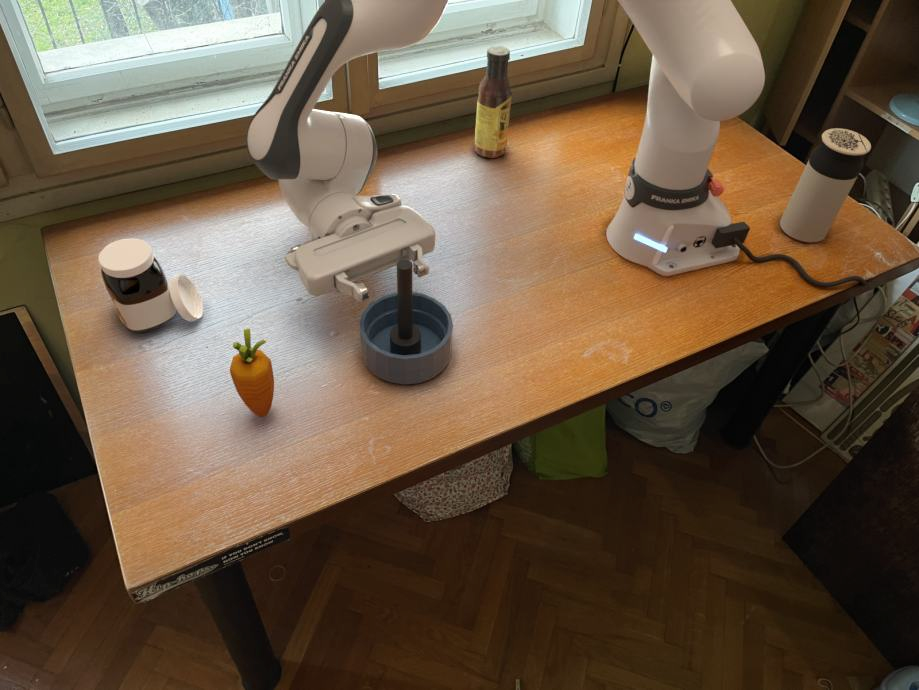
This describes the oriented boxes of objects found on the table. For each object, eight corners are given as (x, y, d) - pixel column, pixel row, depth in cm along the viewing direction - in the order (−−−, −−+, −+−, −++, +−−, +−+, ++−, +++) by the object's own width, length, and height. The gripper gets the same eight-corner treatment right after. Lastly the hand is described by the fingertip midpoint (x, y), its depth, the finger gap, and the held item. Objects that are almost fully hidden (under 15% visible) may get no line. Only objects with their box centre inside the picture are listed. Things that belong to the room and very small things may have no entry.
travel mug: (779, 238, 126) (822, 148, 113) (778, 212, 131) (819, 123, 118) (826, 248, 125) (875, 158, 112) (823, 221, 130) (870, 132, 117)
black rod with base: (419, 337, 105) (419, 251, 93) (422, 359, 102) (423, 274, 90) (388, 339, 104) (385, 254, 93) (391, 362, 102) (388, 276, 90)
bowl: (444, 317, 109) (445, 288, 105) (457, 382, 100) (459, 353, 96) (359, 324, 107) (356, 295, 103) (365, 391, 99) (363, 362, 94)
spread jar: (110, 305, 107) (83, 244, 99) (183, 276, 112) (164, 216, 104) (140, 354, 101) (114, 293, 93) (216, 321, 106) (198, 261, 98)
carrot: (257, 396, 97) (237, 318, 86) (289, 408, 96) (273, 330, 85) (236, 423, 94) (212, 345, 83) (268, 436, 93) (249, 359, 82)
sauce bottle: (502, 162, 138) (513, 62, 124) (470, 157, 139) (477, 57, 124) (508, 144, 143) (518, 45, 128) (477, 139, 143) (484, 40, 129)
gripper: (276, 235, 98) (323, 294, 90) (405, 190, 106) (457, 241, 99) (282, 270, 103) (327, 329, 95) (405, 224, 111) (455, 276, 103)
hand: (394, 284), depth 97 cm, fingers open, 8 cm apart
